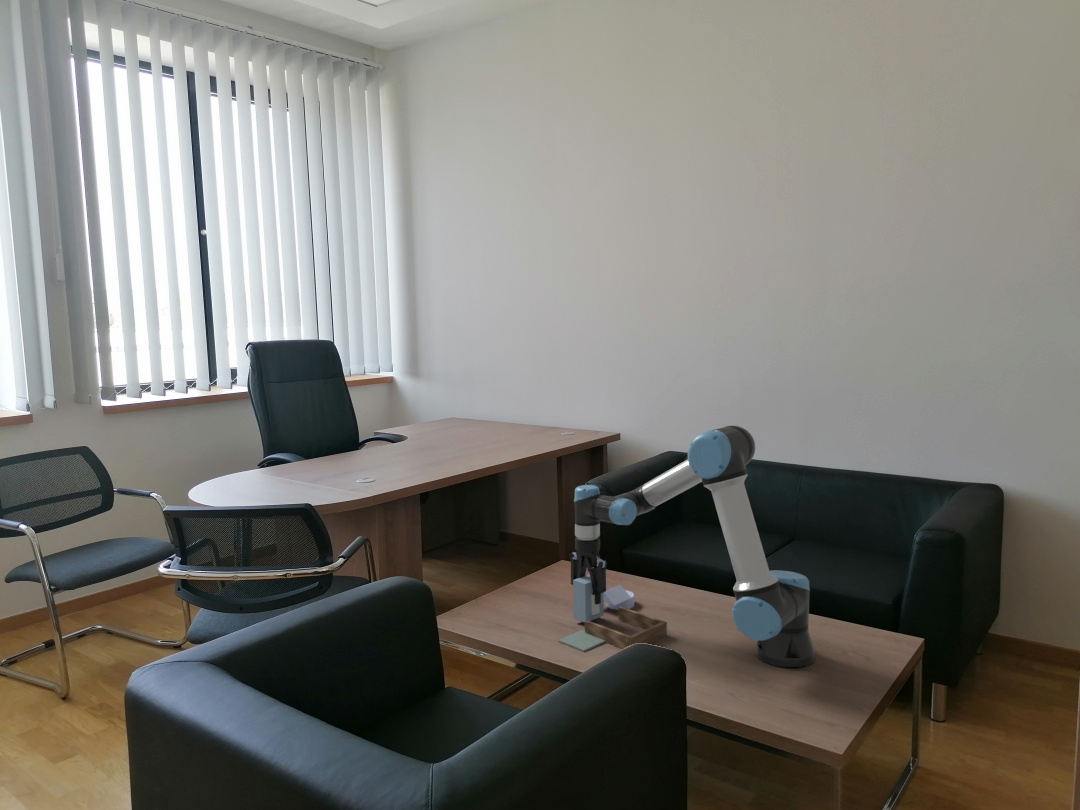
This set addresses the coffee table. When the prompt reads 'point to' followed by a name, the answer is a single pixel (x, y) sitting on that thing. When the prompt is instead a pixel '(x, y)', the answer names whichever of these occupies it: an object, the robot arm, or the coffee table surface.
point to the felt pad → (581, 641)
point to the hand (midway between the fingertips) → (588, 611)
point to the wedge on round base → (618, 598)
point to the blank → (584, 600)
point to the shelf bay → (650, 624)
